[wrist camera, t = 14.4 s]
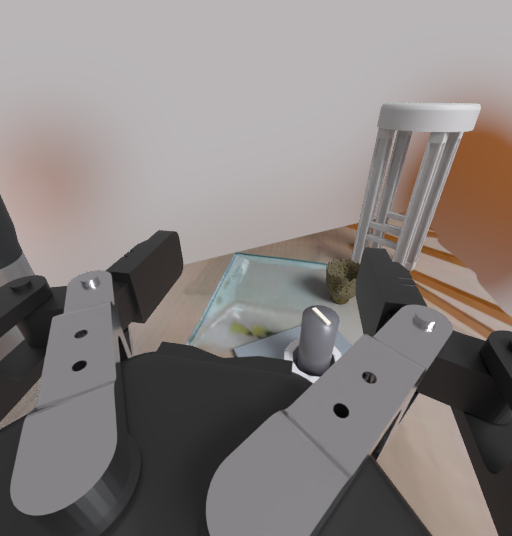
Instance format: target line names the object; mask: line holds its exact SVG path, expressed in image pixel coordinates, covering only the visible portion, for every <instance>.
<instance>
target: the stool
mask: <svg viewBox="0 0 512 536" xmlns="http://www.w3.org/2000/svg"><path fill="white" fill-rule="evenodd" d="M480 109H481V106H480V105H479V104H470V103H386V104H383V105H382V107H381V111H380V116H379V120H378V125H377V126H378V127H379V130H378V135H377V139H376V144H375V149H374V153H373V158H372V163H371V168H370V172H369V177H368V182H367V186H366V191H365V196H364V201H363V205H362V210H361V215H360V220H359V224H358V229H357V234H356V239H355V243H354V248H353V253H352V258H351V259H352V260H353V261H354V262H355V263H358V262H359V263H360V262H361V258H362V254H363V250H364V248H365V247H367V245H368V241H370V246H369V248H380V249H381V246H382V245H384V246H387V247H390V248H393V249H395V252H394V255H393V259H392V262H399V263H400V264H401V265H402V266H404V267H405V268H406V269H407V270H409V271H412V270H413V269H414V268H415V265H416V262H417V260H418V257H419V254H420V251H421V249H422V246H423V243H424V240H425V237H426V235H427V232H428V229H429V226H430V223H431V220H432V218H433V215H434V212H435V209H436V207H437V204H438V201H439V198H440V196H441V193H442V190H443V187H444V184H445V182H446V179H447V176H448V174H449V171H450V168H451V165H452V162H453V160H454V157H455V154H456V151H457V148H458V146H459V143H460V140H461V137H462V135H463V132H466V131H471V130H473V128H474V125H475V123H476V120H477V117H478V115H479V112H480ZM395 130H398V131H397V135H396V139H395V143H394V147H393V152H392V156H391V160H390V164H389V168H388V173H387V176H386V180H385V185H384V188H383V192H382V197H381V201H380V205H379V209H378V213H377V217H376V221H375V222H373V220H374V216H375V212H376V207H377V203H378V199H379V195H380V191H381V186H382V182H383V178H384V174H385V170H386V166H387V162H388V157H389V153H390V149H391V145H392V140H393V137H394V132H395ZM412 131H417V132H431V133H430V136H429V140H428V143H427V146H426V150H425V153H424V156H423V159H422V163H421V166H420V170H419V173H418V176H417V179H416V183H415V186H414V189H413V193H412V196H411V199H410V202H409V206H408V209H407V212H406V216H405V215H401V214H397V213H393V212H391V209H392V205H393V201H394V198H395V194H396V190H397V187H398V183H399V179H400V175H401V172H402V168H403V164H404V161H405V157H406V153H407V150H408V146H409V142H410V138H411V135H412ZM389 218H392V219H396V220H399V221H403V226H402V228H401V227H397V226H394V225H390V224H388V220H389ZM371 228H374V229H373V233H372V234H370V232H371ZM385 232H387V233H390V234H393V235H396V236H399V239H398V242H397V243H396V242H393V241H390V240H387V239H384V235H385Z"/></svg>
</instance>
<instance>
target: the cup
mask: <svg viewBox="0 0 512 536" xmlns="http://www.w3.org/2000/svg"><path fill="white" fill-rule="evenodd" d="M359 266H360V263H359V262H358V263H355V262H354V261H353V260H352V259H350V260H348V261H346V262H345V259H344V258H343V259H342V261H341V263H340V260H339V259H336V260H334V259H333V261H332V262H331V263H330V262H329V263H328V265H327V266H326V268H327V269H326V285H327V289H328V291H329V293H330V294H331V298H332V300H333V301H334V302H336V303H338V304H345V303H347V302H348V301H349V299H350V298H352V297H354V296H355V295H356V293H355V286H356V279H357V275H358V271H359Z"/></svg>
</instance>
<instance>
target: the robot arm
mask: <svg viewBox="0 0 512 536" xmlns="http://www.w3.org/2000/svg"><path fill="white" fill-rule="evenodd" d="M182 271H183V258H182V252H181V247H180V241H179V236H178V234H177V232H174V231H162V230H161V231H160V230H159V231H157V232H156V233H155V234H154V235H153V236H151V238H149V239H148V240H147V241H144V242H142V243H140V244H138V245H136V246H135V247H134V248H133V249H131V250H130V252H128V253H127V254H125V255H124V257H122V258H120V259H119V260H118V261H117V262H116V263H114V264H113V265H112V266H111V267H110V268H108V269H107V270H106V271H91V272H87V273H84V274H81V275H79V276H77V277H75V278H74V279H72V280H71V281H70V282H69V283H68V286H62V287H52V288H50V287H49V285H48V283H47V280H46V279H45V277H43V276H38V275H36V276H35V274H34V272H33V270H32V268H31V267H30V265H29V263H28V261H27V259H26V257H25V255H24V253H23V251H22V249H21V247H20V245H19V243H18V240H17V236H16V232H15V228H14V225H13V222H12V220H11V218H10V216H9V213H8V211H7V209H6V207H5V205H4V202H3V200H2V198H1V195H0V422H1V420H2V419H3V418H4V417H5V416H6V415H7V414H8V413H9V412H10V411H11V409H12V408H13V407H14V406H15V405H16V404H17V403H18V402H19V401H20V400H21V398H22V397H23V396H24V395H25V394H26V393H27V392H28V391H29V390H30V388H31V387H32V386H33V385H34V384H35V383H36V382H37V381H38V380H39V379H40V377H41V382H40V387H39V392H38V398H37V403H36V406H35V408H34V410H33V411H31V412H30V413H29V414H27V415H25V416H23V417H22V418H20V419H18V420H16V421H15V422H13V423H11V424H9V425H7V426H6V427H4V428H2V429H0V536H432V535H431V533H430V532H429V531H428V529H427V528H426V527H425V525H424V524H423V523H422V521H421V520H420V519H419V517H418V516H417V515H416V513H415V512H414V511H413V509H412V508H411V507H410V505H409V504H408V503H407V501H406V500H405V499H404V497H403V496H402V495H401V493H400V492H399V491H398V489H397V488H396V487H395V485H394V484H393V483H392V481H391V480H390V479H389V477H388V476H387V475H386V473H385V472H384V471H383V469H382V468H381V467H380V465H379V464H378V463H377V462H378V460H379V458H380V457H381V455H382V454H383V452H384V450H385V448H386V447H387V445H388V443H389V442H390V440H391V438H392V436H393V435H394V433H395V431H396V430H397V428H398V427H399V425H400V424H401V422H402V420H403V419H404V417H405V416H406V414H407V413H408V411H409V410H410V408H411V406H412V405H413V403H414V402H415V400H416V399H417V397H418V395H419V394H420V393H421V394H423V395H426V396H428V397H430V398H433V399H435V400H438V401H440V402H442V403H445V404H447V405H450V406H451V409H452V411H453V414H454V417H455V419H456V422H457V425H458V428H459V430H460V433H461V436H462V438H463V441H464V444H465V446H466V449H467V452H468V454H469V457H470V460H471V463H472V465H473V468H474V471H475V473H476V476H477V479H478V481H479V484H480V487H481V490H482V492H483V495H484V498H485V500H486V503H487V506H488V508H489V511H490V514H491V516H492V519H493V522H494V525H495V527H496V530H497V533H498V535H499V536H512V332H510V331H495V332H492V333H491V334H490V335H489V337H488V338H487V340H486V341H484V340H481V339H478V338H474V337H471V336H468V335H465V334H462V333H459V332H456V331H454V330H453V326H452V324H451V322H450V321H449V320H448V319H447V318H446V317H445V316H444V315H443V314H441V313H440V312H438V311H436V310H434V309H432V308H429V307H427V305H426V303H425V301H424V300H423V298H422V296H421V294H420V292H419V290H418V288H417V287H416V286H415V283H414V281H413V280H412V277H411V275H410V273H409V271H408V270H407V269H406V268H405V267H404V266H402V265H401V264H400V263H399V262H391V260H390V258H389V255H388V253H387V251H386V249H380V248H368V247H365V248H364V250H363V254H362V258H361V262H360V266H359V271H358V275H357V279H356V286H355V293H356V299H357V304H358V309H359V314H360V318H361V323H362V328H363V333H364V335H363V336H362V337H361V338H360V339H359V340H358V341H357V342H356V343H355V344H354V345H353V346H352V347H351V348H350V349H348V350H347V351H346V352H345V353H344V354H343V355H342V356H341V357H340V358H339V359H338V360H337V361H336V362H335V363H334V364H333V365H332V366H331V367H330V368H329V369H328V370H327V371H326V372H325V373H324V374H323V375H322V376H321V377H320V378H319V379H318V380H316V381H315V382H314V383H312V382H311V381H309V380H308V379H306V378H305V377H303V376H301V375H299V374H297V373H294V372H292V364H293V361H290V360H284V359H277V358H270V357H263V356H248V357H233V358H221V357H218V356H216V355H213V354H211V353H209V352H206V351H204V350H201V349H199V348H196V347H194V346H189V345H182V344H175V343H169V342H162V343H161V345H160V346H159V348H158V350H157V351H156V352H149V353H144V354H140V355H137V356H134V351H133V345H132V338H131V332H130V329H129V326H128V325H129V324H130V323H131V322H136V323H145V322H146V321H147V319H148V318H149V317H150V315H151V314H152V313H153V311H154V310H155V309H156V307H157V306H158V305H159V303H160V302H161V301H162V299H163V298H164V297H165V295H166V294H167V293H168V291H169V290H170V289H171V287H172V286H173V285H174V283H175V282H176V281H177V279H178V278H179V277H180V275H181V274H182Z"/></svg>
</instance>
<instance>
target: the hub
mask: <svg viewBox="0 0 512 536" xmlns="http://www.w3.org/2000/svg"><path fill="white" fill-rule="evenodd" d="M300 333H301V326H299V327H296V328H293V329H290V330H287V331H284V332H281V333H278V334H275V335H272V336H270V337H267V338H264V339H261V340H258V341H255V342H252V343H249V344H246V345H243V346H241V347H238V348H235V349H234V354H235V356H236V357H248V356H263V357H270V358H277V359H284V360H290V361H293V364H292V372H294V373H297V374H299V375H301V376H303V377H305V378H306V379H308V380H309V381H311V382H312V383H314V382H315V381H316V380H318V379H319V378H320V377H316V376H309V375H307V374H305V373H303V372H301V371H300V370H298V368H297V359H298V350H299V342H300ZM351 347H352V345H351V344H350V343H349V342H348V341H347V340H346V339H345V338H344V337H343V336H342V335H341V334H340V333H339V332H338V331H337V334H336V339H335V344H334V348H333V353H332V358H331V362H330V367H331V366H332V365H333V364H334V363H335V362H336V361H337V360H338V359H339V358H340V357H341V356H342V355H343V354H344V353H345V352H346V351H347V350H348V349H350V348H351ZM330 367H329V368H330Z"/></svg>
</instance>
